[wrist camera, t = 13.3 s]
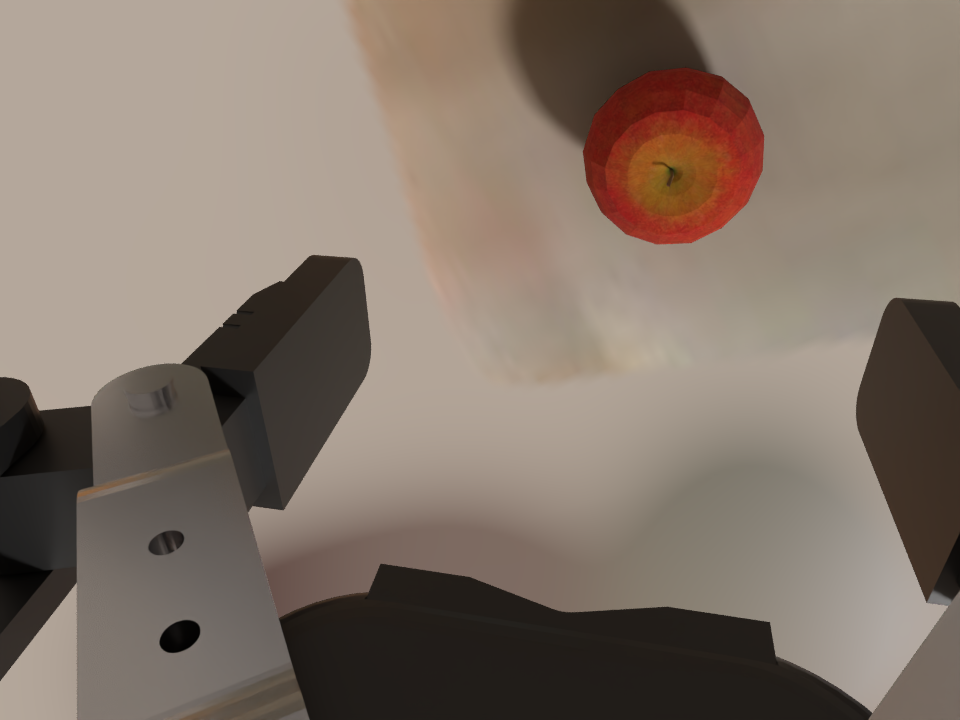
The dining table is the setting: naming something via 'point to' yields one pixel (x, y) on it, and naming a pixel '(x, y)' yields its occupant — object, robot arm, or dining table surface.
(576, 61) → the dining table surface
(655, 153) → the apple
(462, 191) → the dining table surface
